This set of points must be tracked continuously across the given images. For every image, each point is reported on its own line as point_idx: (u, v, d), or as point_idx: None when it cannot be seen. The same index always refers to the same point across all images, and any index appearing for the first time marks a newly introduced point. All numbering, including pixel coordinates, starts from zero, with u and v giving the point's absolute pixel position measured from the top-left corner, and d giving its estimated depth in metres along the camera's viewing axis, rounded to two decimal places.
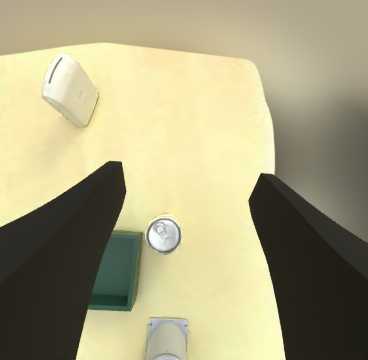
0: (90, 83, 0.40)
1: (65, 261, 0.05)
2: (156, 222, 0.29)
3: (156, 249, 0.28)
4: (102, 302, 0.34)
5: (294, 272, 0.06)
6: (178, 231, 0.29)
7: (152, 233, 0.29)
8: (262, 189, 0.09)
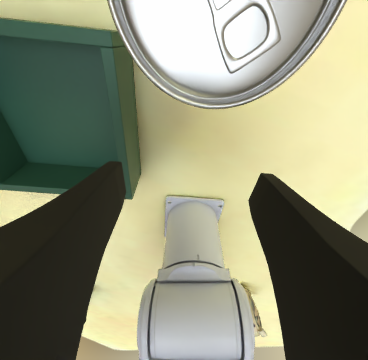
0: None
1: (65, 261, 0.05)
2: None
3: (177, 82, 0.06)
4: None
5: (294, 272, 0.06)
6: None
7: None
8: (262, 189, 0.09)
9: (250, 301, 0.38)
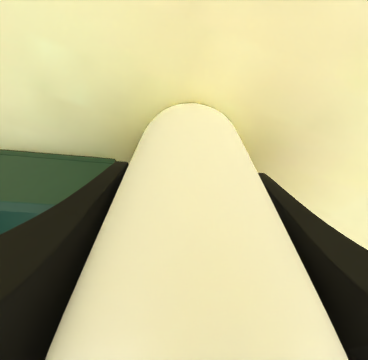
0: None
1: (76, 262, 0.05)
2: None
3: None
4: None
5: None
6: None
7: None
8: None
9: None
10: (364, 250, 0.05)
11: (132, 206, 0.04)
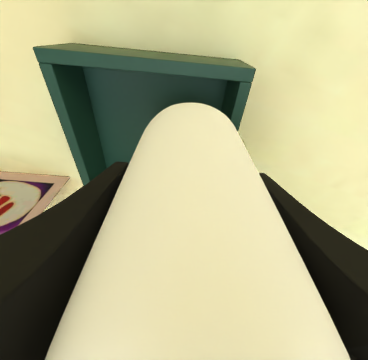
0: None
1: (76, 262, 0.05)
2: None
3: None
4: None
5: None
6: None
7: None
8: None
9: None
10: (364, 250, 0.05)
11: (133, 205, 0.04)
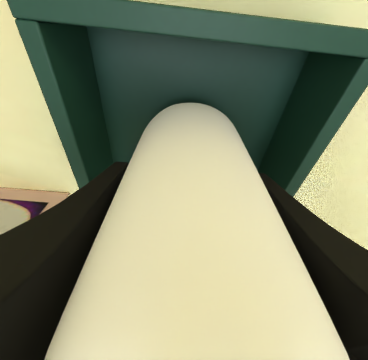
0: None
1: (76, 262, 0.05)
2: None
3: None
4: None
5: None
6: None
7: None
8: None
9: None
10: (363, 250, 0.05)
11: (132, 205, 0.04)
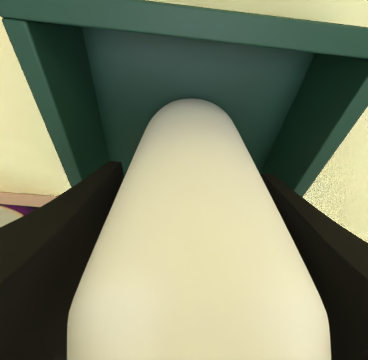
0: None
1: (65, 261, 0.05)
2: None
3: None
4: None
5: None
6: None
7: None
8: None
9: None
10: None
11: (141, 183, 0.05)
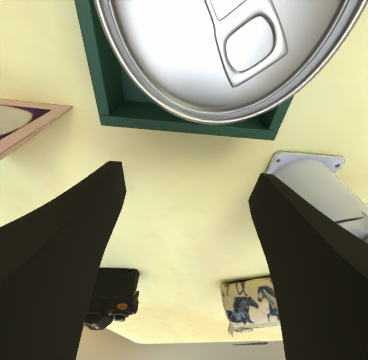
0: None
1: (65, 261, 0.05)
2: None
3: (175, 96, 0.05)
4: None
5: (294, 272, 0.06)
6: None
7: None
8: (262, 189, 0.09)
9: None
10: None
11: None
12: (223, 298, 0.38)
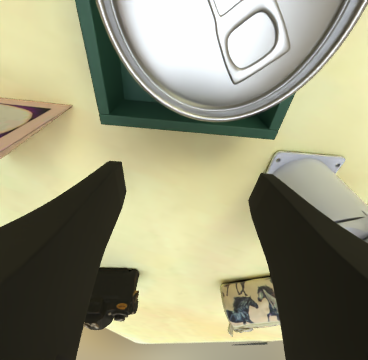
0: None
1: (65, 261, 0.05)
2: None
3: (176, 93, 0.05)
4: None
5: (294, 272, 0.06)
6: None
7: None
8: (262, 189, 0.09)
9: None
10: None
11: None
12: (223, 298, 0.38)
